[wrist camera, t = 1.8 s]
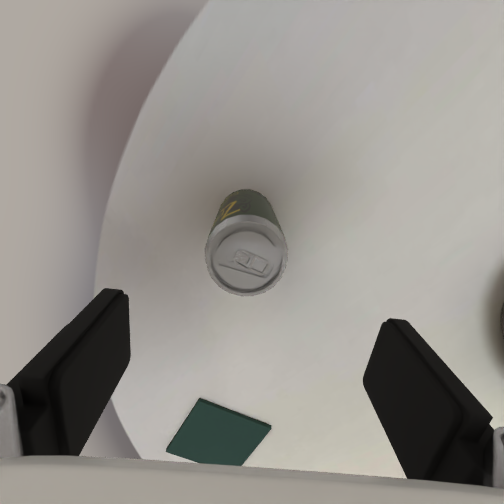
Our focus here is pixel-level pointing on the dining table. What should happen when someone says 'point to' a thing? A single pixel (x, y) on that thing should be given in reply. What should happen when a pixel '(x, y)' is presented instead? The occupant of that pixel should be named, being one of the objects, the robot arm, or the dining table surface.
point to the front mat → (217, 435)
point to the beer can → (246, 245)
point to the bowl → (502, 320)
